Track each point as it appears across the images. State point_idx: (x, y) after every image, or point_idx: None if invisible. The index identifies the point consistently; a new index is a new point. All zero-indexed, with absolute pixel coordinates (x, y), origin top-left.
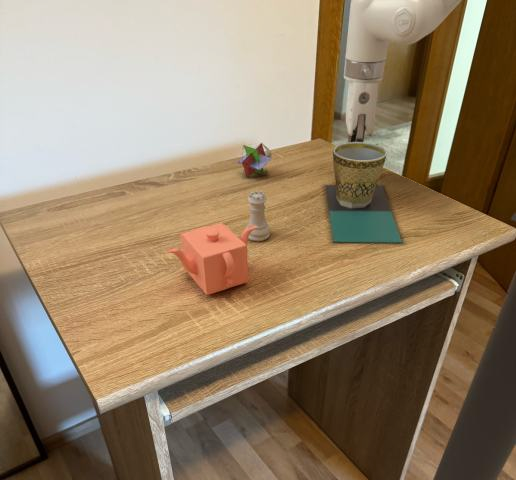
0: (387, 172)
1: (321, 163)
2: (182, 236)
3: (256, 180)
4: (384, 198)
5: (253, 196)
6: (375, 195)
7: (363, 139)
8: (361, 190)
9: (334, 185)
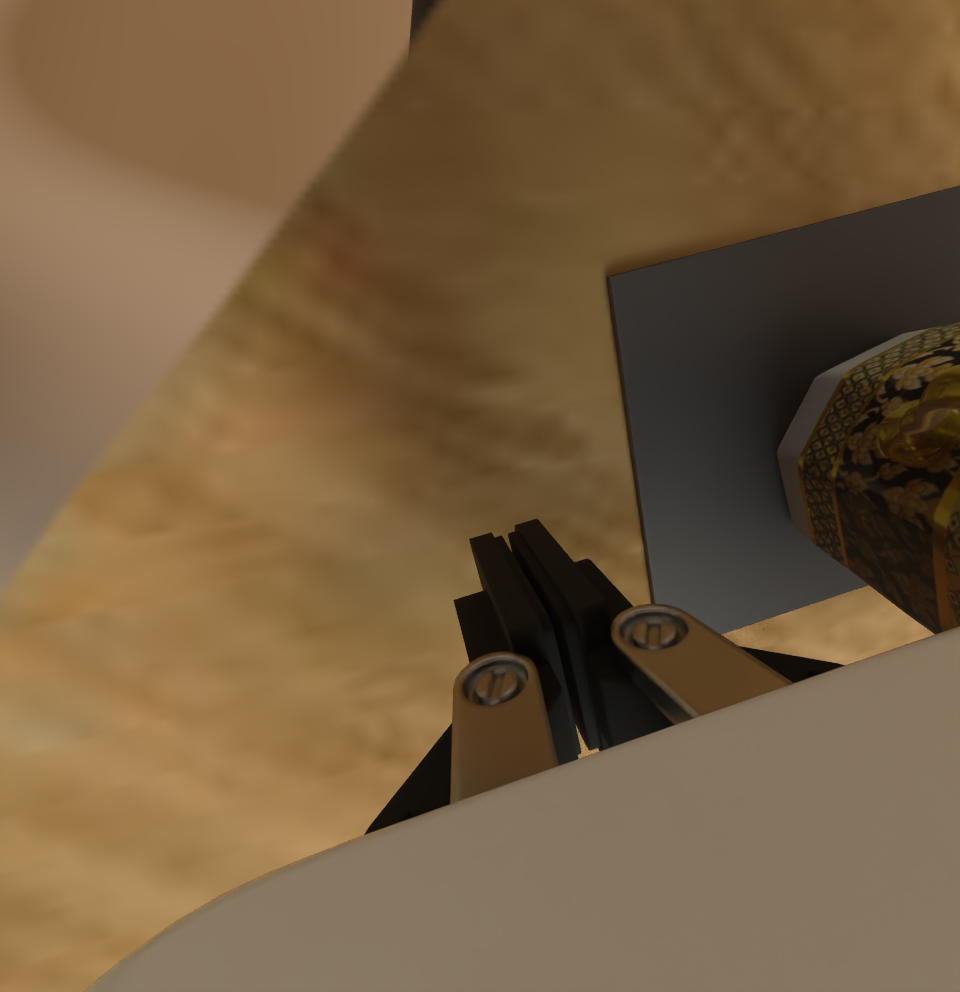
0: (276, 252)
1: (286, 779)
2: None
3: None
4: (831, 238)
5: None
6: (787, 313)
7: (779, 674)
8: None
9: None
